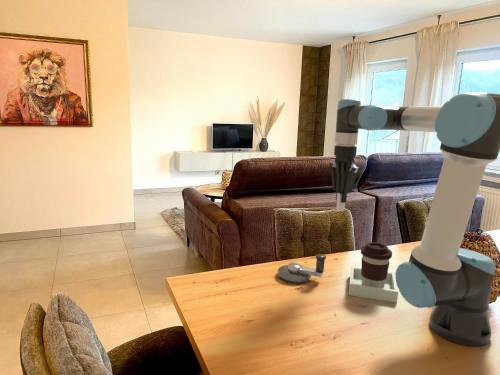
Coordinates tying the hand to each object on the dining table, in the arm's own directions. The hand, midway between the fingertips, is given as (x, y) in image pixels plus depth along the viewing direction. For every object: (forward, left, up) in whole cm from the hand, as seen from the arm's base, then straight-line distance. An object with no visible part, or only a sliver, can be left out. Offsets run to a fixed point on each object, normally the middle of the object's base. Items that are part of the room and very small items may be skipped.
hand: (340, 210), depth 135 cm
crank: (-8, +10, -22) cm, 26 cm away
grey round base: (-8, +14, -24) cm, 29 cm away
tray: (-8, -13, -24) cm, 29 cm away
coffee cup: (-8, -13, -24) cm, 28 cm away
